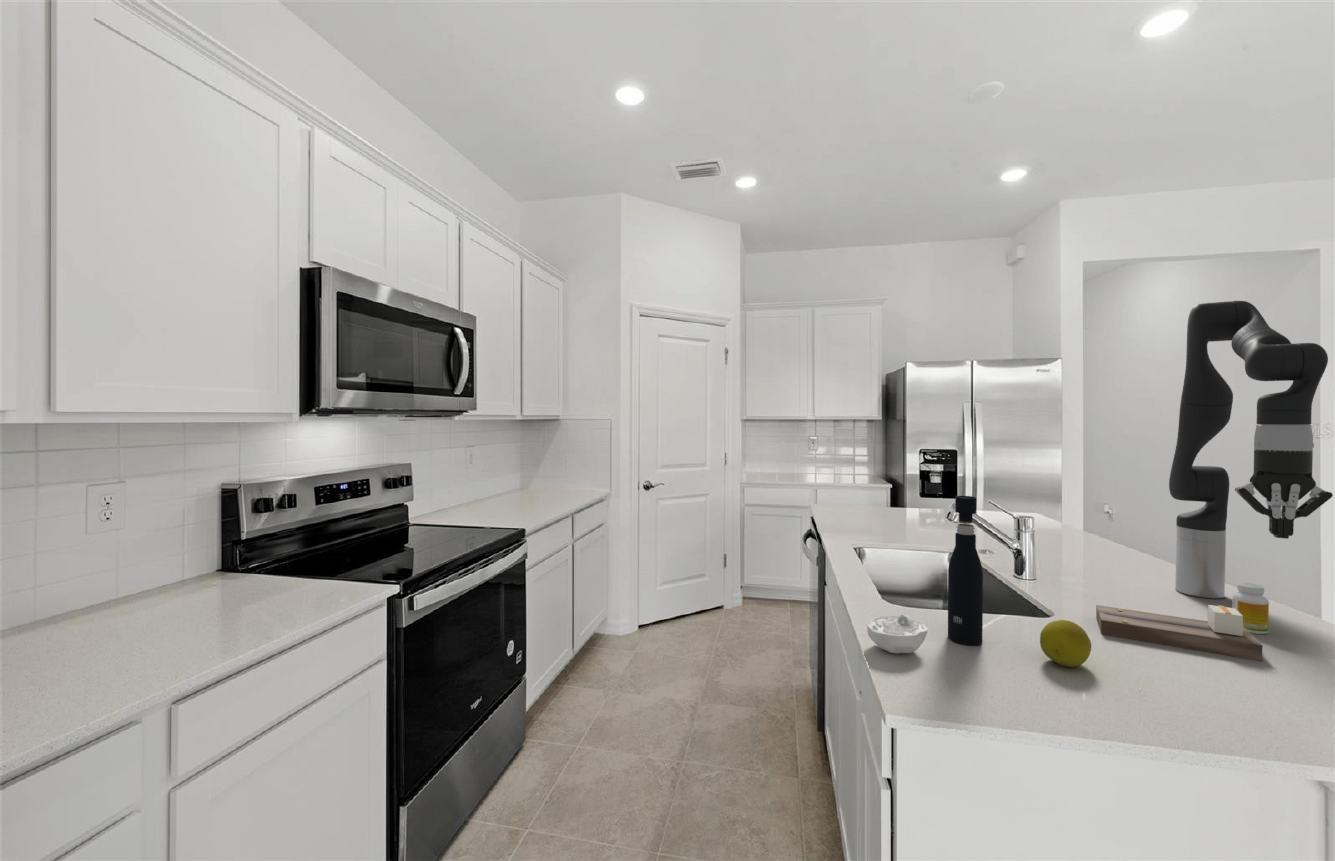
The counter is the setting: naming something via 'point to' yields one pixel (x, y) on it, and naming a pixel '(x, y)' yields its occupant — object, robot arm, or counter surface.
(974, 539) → the black water bottle
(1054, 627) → the lemon
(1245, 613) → the supplement bottle
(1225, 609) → the block
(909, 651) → the cell model
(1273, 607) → the counter surface
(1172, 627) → the brown flat piece
